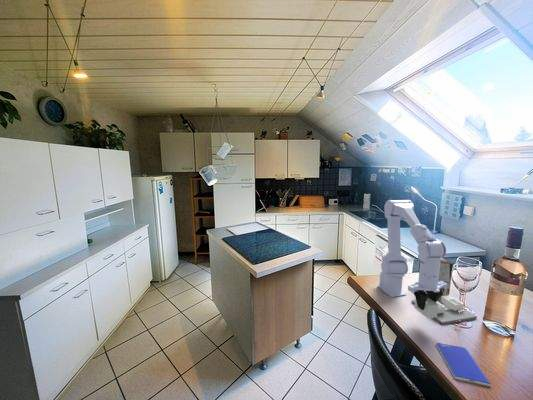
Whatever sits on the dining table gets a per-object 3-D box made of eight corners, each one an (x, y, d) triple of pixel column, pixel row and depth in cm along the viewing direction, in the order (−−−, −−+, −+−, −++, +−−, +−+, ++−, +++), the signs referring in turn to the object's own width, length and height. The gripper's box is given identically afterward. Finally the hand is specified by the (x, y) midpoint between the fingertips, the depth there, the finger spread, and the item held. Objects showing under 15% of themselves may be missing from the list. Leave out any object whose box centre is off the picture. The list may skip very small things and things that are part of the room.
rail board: (411, 302, 97) (412, 293, 97) (442, 298, 100) (443, 289, 99) (441, 324, 84) (443, 314, 83) (476, 318, 86) (478, 308, 86)
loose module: (414, 307, 85) (415, 295, 84) (422, 306, 86) (423, 294, 85) (428, 318, 79) (429, 305, 78) (436, 317, 80) (438, 304, 79)
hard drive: (436, 342, 74) (454, 375, 63) (466, 347, 72) (491, 383, 60) (435, 346, 75) (454, 380, 63) (465, 351, 72) (490, 388, 60)
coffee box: (449, 297, 100) (453, 263, 98) (433, 296, 101) (437, 263, 99) (437, 286, 109) (441, 255, 107) (423, 285, 110) (426, 255, 108)
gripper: (421, 280, 75) (417, 317, 77) (456, 276, 78) (452, 311, 80) (404, 271, 82) (401, 304, 84) (438, 267, 84) (434, 300, 87)
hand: (425, 307), depth 82 cm, fingers closed on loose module, 3 cm apart
